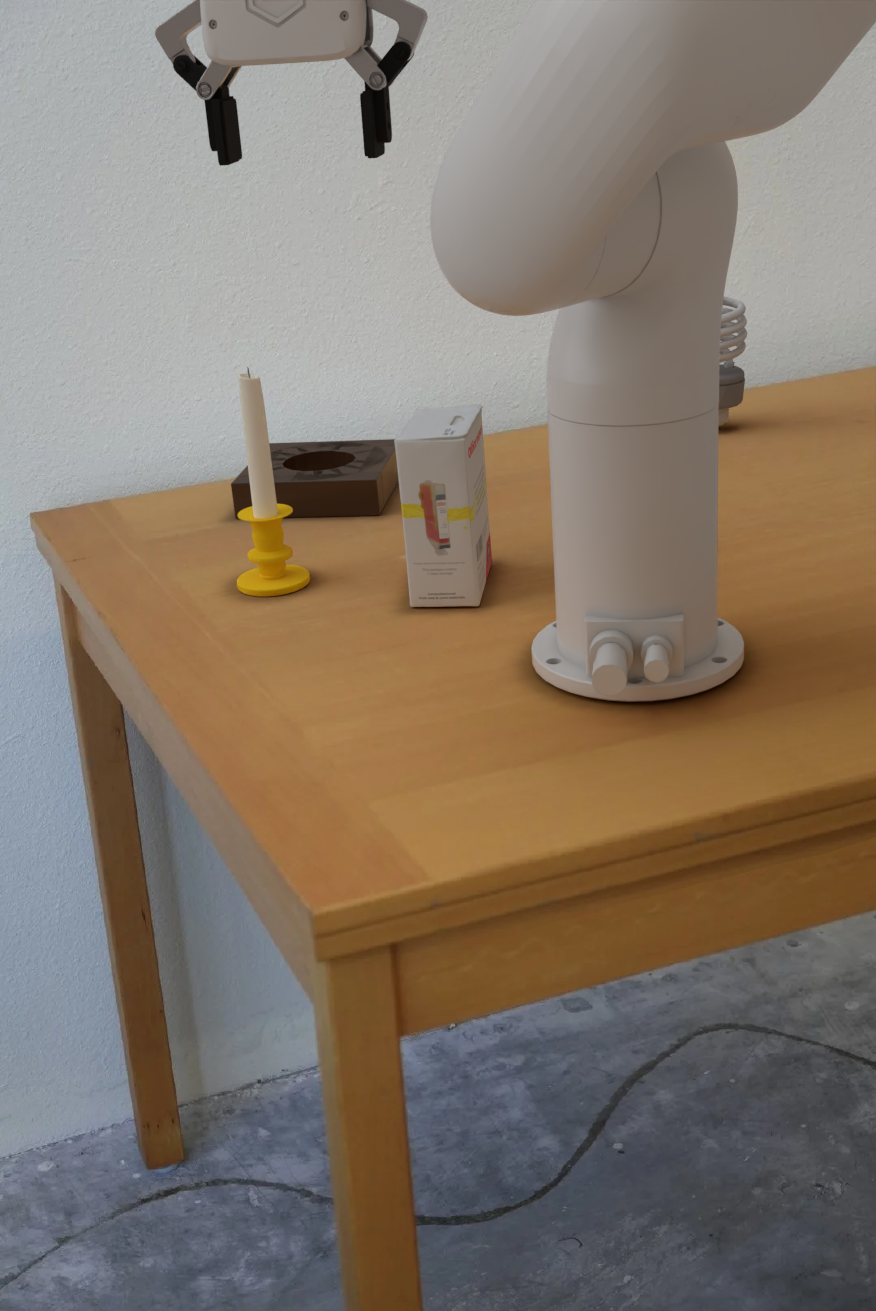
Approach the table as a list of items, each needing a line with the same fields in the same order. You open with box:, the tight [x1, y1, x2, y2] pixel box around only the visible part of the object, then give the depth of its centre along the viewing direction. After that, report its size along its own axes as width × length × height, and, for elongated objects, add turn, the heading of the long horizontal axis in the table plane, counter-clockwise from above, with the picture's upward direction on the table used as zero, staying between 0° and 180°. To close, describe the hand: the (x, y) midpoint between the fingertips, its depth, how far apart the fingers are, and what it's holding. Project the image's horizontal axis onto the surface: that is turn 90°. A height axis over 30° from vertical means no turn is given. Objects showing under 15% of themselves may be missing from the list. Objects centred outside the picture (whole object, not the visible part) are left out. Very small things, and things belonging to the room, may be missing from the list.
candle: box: [236, 367, 311, 598], centre depth 102 cm, size 5×5×16 cm
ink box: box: [394, 404, 493, 608], centre depth 100 cm, size 9×5×12 cm, turn 171°
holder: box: [230, 438, 399, 520], centre depth 124 cm, size 12×12×3 cm
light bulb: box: [718, 296, 748, 429], centre depth 132 cm, size 6×6×12 cm
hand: (302, 159), depth 95 cm, fingers open, 9 cm apart
